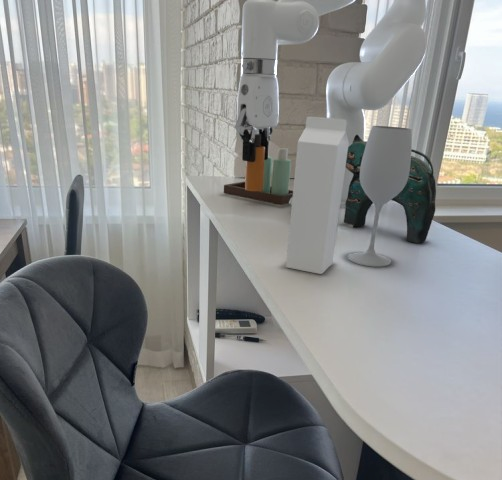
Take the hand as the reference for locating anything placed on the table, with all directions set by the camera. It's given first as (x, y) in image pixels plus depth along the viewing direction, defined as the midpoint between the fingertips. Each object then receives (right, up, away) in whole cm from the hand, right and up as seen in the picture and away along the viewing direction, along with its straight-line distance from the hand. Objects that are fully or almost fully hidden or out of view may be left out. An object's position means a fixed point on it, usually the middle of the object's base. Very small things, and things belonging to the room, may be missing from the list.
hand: (255, 159), depth 115 cm
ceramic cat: (+26, -19, -10) cm, 34 cm away
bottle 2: (+6, -7, +10) cm, 13 cm away
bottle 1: (+2, -5, +13) cm, 14 cm away
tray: (+2, -5, +13) cm, 14 cm away
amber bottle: (0, -6, +3) cm, 7 cm away
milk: (+8, -29, -33) cm, 45 cm away
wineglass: (+19, -27, -28) cm, 44 cm away
